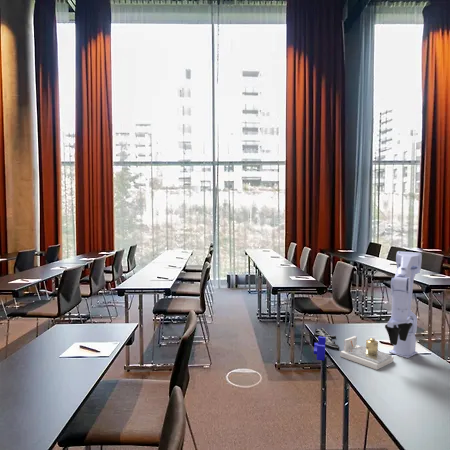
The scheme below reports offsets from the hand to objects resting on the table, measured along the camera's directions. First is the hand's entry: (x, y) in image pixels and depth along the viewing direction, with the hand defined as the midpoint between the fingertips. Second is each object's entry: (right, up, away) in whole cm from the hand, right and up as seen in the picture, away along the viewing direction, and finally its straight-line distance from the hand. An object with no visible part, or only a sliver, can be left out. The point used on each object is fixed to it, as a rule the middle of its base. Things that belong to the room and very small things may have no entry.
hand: (398, 342), depth 147 cm
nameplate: (-20, -8, +29) cm, 37 cm away
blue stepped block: (-28, -9, +10) cm, 31 cm away
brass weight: (-8, -6, +5) cm, 11 cm away
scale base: (-10, -9, +7) cm, 15 cm away
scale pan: (-9, -7, +5) cm, 12 cm away
